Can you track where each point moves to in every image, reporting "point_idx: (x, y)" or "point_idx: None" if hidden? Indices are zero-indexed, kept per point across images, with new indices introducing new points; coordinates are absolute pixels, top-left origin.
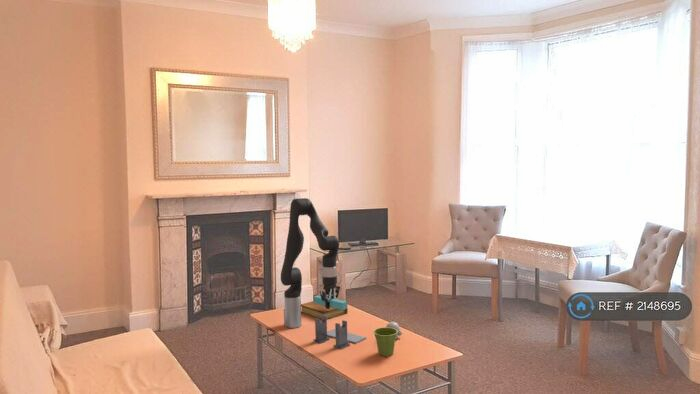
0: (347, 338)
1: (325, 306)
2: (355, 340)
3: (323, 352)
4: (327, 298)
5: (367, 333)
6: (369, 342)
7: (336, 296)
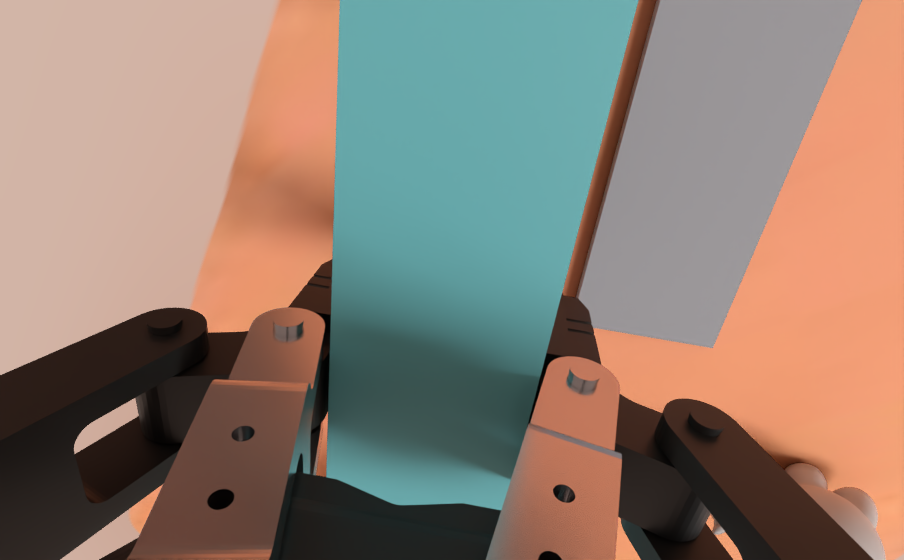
0: (632, 225)
1: (317, 274)
2: (609, 304)
3: (291, 192)
4: (439, 323)
5: (855, 293)
6: (637, 386)
7: (628, 528)
